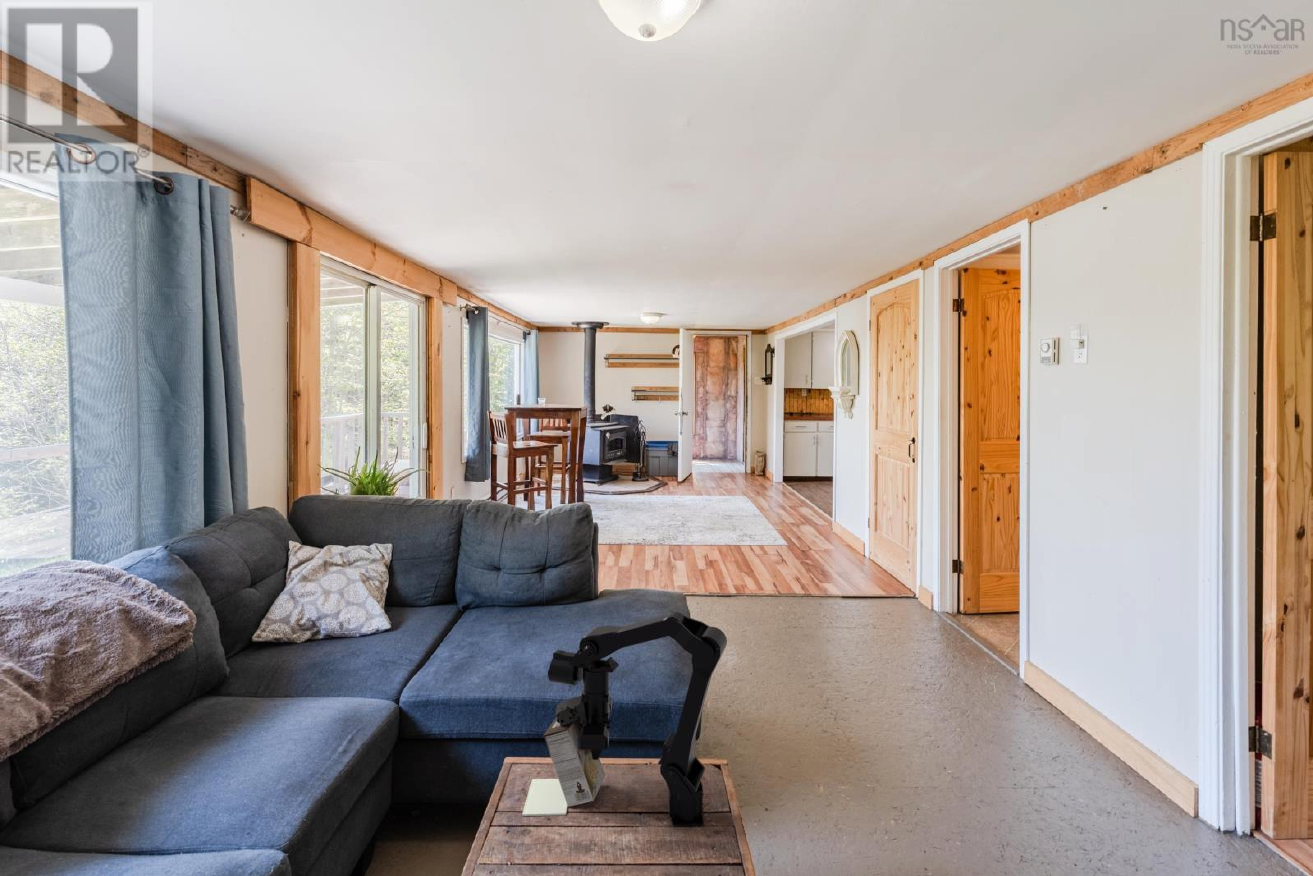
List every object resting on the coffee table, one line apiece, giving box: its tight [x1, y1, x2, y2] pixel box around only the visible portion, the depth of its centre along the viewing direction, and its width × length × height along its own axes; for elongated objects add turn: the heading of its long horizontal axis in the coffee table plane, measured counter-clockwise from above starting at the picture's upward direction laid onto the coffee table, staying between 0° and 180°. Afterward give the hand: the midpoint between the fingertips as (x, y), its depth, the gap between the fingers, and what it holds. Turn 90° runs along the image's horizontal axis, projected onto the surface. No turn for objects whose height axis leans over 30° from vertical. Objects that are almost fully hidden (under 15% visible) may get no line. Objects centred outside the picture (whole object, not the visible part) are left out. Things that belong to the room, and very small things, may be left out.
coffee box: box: [542, 716, 606, 808], centre depth 128 cm, size 9×6×16 cm
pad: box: [521, 778, 568, 817], centre depth 127 cm, size 9×12×1 cm
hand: (595, 759), depth 127 cm, fingers closed
